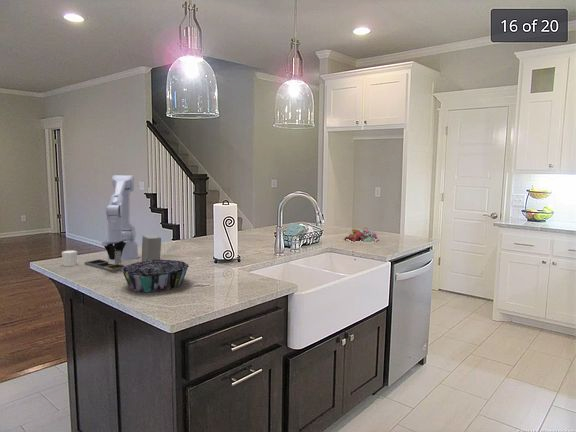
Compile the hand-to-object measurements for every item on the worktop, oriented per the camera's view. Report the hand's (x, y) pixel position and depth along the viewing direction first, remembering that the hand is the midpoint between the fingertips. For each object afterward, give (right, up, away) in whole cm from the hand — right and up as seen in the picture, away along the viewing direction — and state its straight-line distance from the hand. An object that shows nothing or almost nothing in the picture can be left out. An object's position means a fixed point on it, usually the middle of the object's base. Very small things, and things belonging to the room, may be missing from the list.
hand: (115, 258), depth 200 cm
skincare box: (+15, -6, +6) cm, 17 cm away
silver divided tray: (-6, -5, +5) cm, 9 cm away
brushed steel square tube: (-1, -2, 0) cm, 2 cm away
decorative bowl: (+26, -10, -22) cm, 35 cm away
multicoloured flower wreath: (+133, +2, +95) cm, 164 cm away
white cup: (-25, -4, +6) cm, 26 cm away
